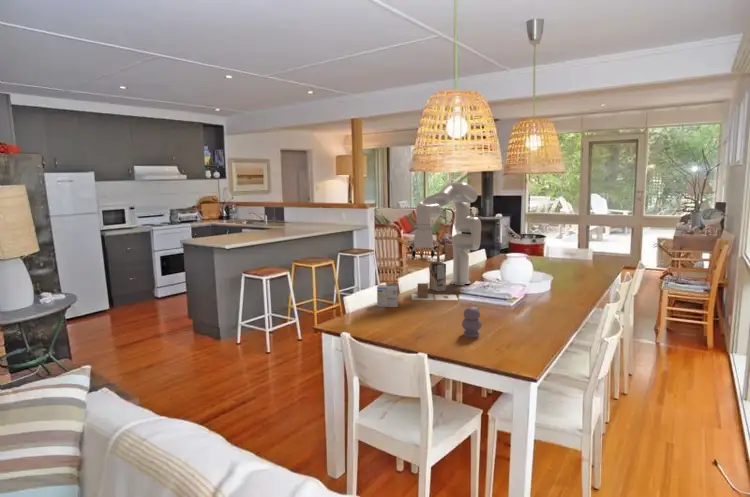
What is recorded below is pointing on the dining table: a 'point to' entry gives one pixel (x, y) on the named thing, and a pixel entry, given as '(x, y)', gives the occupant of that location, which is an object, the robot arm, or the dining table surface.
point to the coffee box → (438, 276)
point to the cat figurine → (471, 322)
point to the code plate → (446, 297)
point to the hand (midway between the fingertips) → (423, 257)
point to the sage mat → (415, 297)
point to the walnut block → (422, 290)
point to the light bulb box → (387, 295)
